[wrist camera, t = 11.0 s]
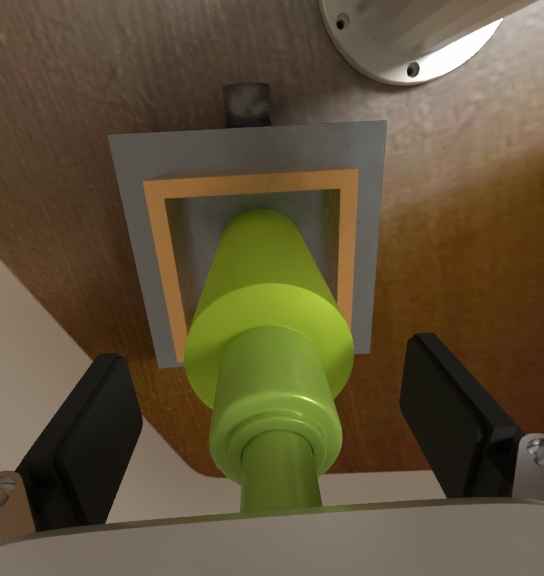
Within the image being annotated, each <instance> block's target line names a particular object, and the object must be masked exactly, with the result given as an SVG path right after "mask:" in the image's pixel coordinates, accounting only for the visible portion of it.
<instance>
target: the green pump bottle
mask: <svg viewBox="0 0 544 576" xmlns="http://www.w3.org/2000/svg"><path fill="white" fill-rule="evenodd" d="M353 361H354V344H353V338H352V335H351V332H350V329H349V327H348V324H347V322H346V320H345V319H344V317H343V315H342V313H341V311H340V309H339V307H338V305H337V303H336V301H335V299H334V297H333V296H332V294H331V292H330V290H329V288H328V286H327V284H326V282H325V280H324V278H323V276H322V275H321V273H320V271H319V269H318V267H317V265H316V263H315V261H314V259H313V257H312V255H311V253H310V252H309V250H308V248H307V246H306V244H305V242H304V240H303V238H302V236H301V234H300V232H299V230H298V229H297V227H296V226H295V225H294V223H293V222H292V221H291V220H290V219H288V218H287V217H286V216H284V215H283V214H281V213H279V212H276V211H273V210H268V209H254V210H250V211H246V212H244V213H242V214H240V215H238V216H237V217H235V218H234V219H233V220H232V221H231V222H230V223H229V224H228V225H227V226H226V228H225V229H224V231H223V233H222V236H221V238H220V241H219V244H218V247H217V250H216V253H215V256H214V259H213V262H212V265H211V268H210V271H209V274H208V277H207V280H206V282H205V285H204V288H203V291H202V294H201V297H200V300H199V303H198V306H197V309H196V312H195V315H194V318H193V321H192V324H191V326H190V329H189V332H188V335H187V338H186V342H185V347H184V366H185V371H186V375H187V378H188V380H189V383H190V385H191V387H192V388H193V390H194V391H195V393H196V394H197V396H198V397H199V398H200V399H201V400H202V401H203V402H204V403H205V404H206V405H207V406H208V407H209V408H211V409H212V410H213V414H212V420H211V427H210V435H209V446H210V453H211V456H212V459H213V461H214V463H215V464H216V466H217V467H218V468H219V470H220V471H221V472H222V473H223V474H224V475H226V476H227V477H228V478H229V479H231V480H232V481H234V482H236V483H238V484H240V485H241V507H240V513H243V512H256V511H270V510H283V509H297V508H311V507H323V506H322V501H321V495H320V490H319V486H318V480H317V478H318V477H320V476H321V475H322V474H324V473H325V472H326V471H327V470H328V469H329V468H330V467H331V465H332V464H333V463H334V461H335V460H336V458H337V456H338V454H339V452H340V449H341V445H342V428H341V424H340V420H339V417H338V414H337V410H336V407H335V404H334V401H333V400H334V399H335V398H336V396H337V395H338V394H339V393H340V392H341V390H342V389H343V387H344V386H345V384H346V382H347V380H348V378H349V376H350V373H351V370H352V366H353Z"/></svg>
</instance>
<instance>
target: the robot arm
mask: <svg viewBox="0 0 544 576" xmlns="http://www.w3.org/2000/svg"><path fill="white" fill-rule="evenodd" d="M318 1H319V7H320V11H321V14H322V17H323V20H324V24H325V27H326V30H327V32H328V33H329V35H330V37H331V39H332V41H333V43H334V45H335V47H336V48H337V50H338V51H339V52H340V53H341V55H342V56H343V57H344V58H345V60H346V61H347V62H348V63H349V64H350V65H351V66H353V67H354V68H355V69H356V70H357V71H359V72H360V73H361V74H363V75H365V76H367V77H369V78H371V79H373V80H375V81H377V82H380V83H385V84H389V85H393V86H412V85H416V84H421V83H426V82H429V81H432V80H434V79H437V78H440V77H443V76H444V75H446V74H448V73H450V72H452V71H454V70H455V69H457V68H459V67H460V66H462V65H463V64H464V63H465V62H467V61H468V60H469V59H470V58H472V57H473V56H474V55H475V54H477V52H478V51H479V50H480V49H481V48H482V47H483V46H484V45H485V44H486V43H487V41H488V40H489V39H490V38H491V37H492V35H493V34H494V33H495V31H496V30H497V28H498V27H499V26H500V24H501V23H502V21H503V19H504V18H505V17H506V16H508V15H510V14H512V13H514V12H516V11H518V10H520V9H522V8H524V7H526V6H528V5H530V4H532V3H534V2H536V1H538V0H318ZM337 22H341V23H342V24H343V29H341V30H339V29H338V28H337V26H336V24H337ZM407 68H409V69H410V70H411V74H410V76H408V75H407ZM400 409H401V412H402V414H403V416H404V417H405V419H406V421H407V423H408V425H409V427H410V429H411V431H412V433H413V435H414V436H415V438H416V440H417V442H418V444H419V446H420V448H421V450H422V452H423V454H424V455H425V457H426V459H427V461H428V463H429V465H430V467H431V469H432V471H433V472H434V474H435V476H436V478H437V480H438V482H439V484H440V486H441V487H442V489H443V491H444V493H445V495H446V497H447V499H430V500H412V501H398V502H384V503H368V504H353V505H339V506H324V507H311V508H297V509H283V510H270V511H256V512H243V513H230V514H217V515H205V516H191V517H179V518H166V519H154V520H141V521H129V522H119V523H109V524H105V522H106V520H107V517H108V514H109V512H110V510H111V507H112V505H113V502H114V499H115V497H116V494H117V492H118V489H119V486H120V484H121V481H122V479H123V476H124V474H125V471H126V469H127V466H128V464H129V461H130V458H131V456H132V453H133V451H134V448H135V446H136V443H137V441H138V438H139V435H140V433H141V430H142V425H143V420H142V415H141V412H140V408H139V404H138V401H137V397H136V393H135V390H134V386H133V382H132V378H131V375H130V371H129V367H128V364H127V360H126V358H125V357H121V356H120V354H119V353H109V354H99V355H98V356H97V357H96V359H95V360H94V361H93V363H92V364H91V365H90V367H89V368H88V370H87V371H86V372H85V374H84V375H83V377H82V378H81V379H80V381H79V382H78V383H77V385H76V386H75V388H74V389H73V390H72V392H71V393H70V394H69V396H68V397H67V399H66V400H65V401H64V403H63V404H62V406H61V407H60V408H59V410H58V411H57V412H56V414H55V415H54V417H53V418H52V419H51V421H50V422H49V423H48V425H47V426H46V428H45V429H44V430H43V432H42V433H41V435H40V436H39V437H38V439H37V440H36V441H35V443H34V444H33V446H32V447H31V449H30V450H29V451H28V453H27V454H26V455H25V457H24V458H23V459H22V462H21V463H20V465H19V466H18V467H17V469H16V470H15V471H2V472H0V576H544V434H537V433H535V434H528V435H525V433H524V432H523V431H522V430H521V429H520V428H519V427H518V426H517V424H516V423H515V422H514V421H513V420H512V419H511V418H510V417H509V416H508V414H507V413H506V412H505V411H504V410H503V409H502V408H501V407H500V406H499V405H498V403H497V402H496V401H495V400H494V399H493V398H492V397H491V396H490V395H489V393H488V392H487V391H486V390H485V389H484V388H483V387H482V386H481V385H480V383H479V382H478V381H477V380H476V379H475V378H474V377H473V376H472V375H471V374H470V372H469V371H468V370H467V369H466V368H465V367H464V366H463V365H462V364H461V362H460V361H459V360H458V359H457V358H456V357H455V356H454V355H453V354H452V352H451V351H450V350H449V349H448V348H447V347H446V346H445V345H444V344H443V343H442V341H441V340H440V339H439V338H438V337H437V336H436V335H435V334H434V333H418V334H414V335H413V338H410V339H409V340H408V342H407V350H406V357H405V364H404V372H403V379H402V387H401V394H400Z"/></svg>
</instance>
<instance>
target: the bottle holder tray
mask: <svg viewBox="0 0 544 576" xmlns="http://www.w3.org/2000/svg"><path fill="white" fill-rule="evenodd" d="M223 98H224V109H225V120H226V129H209V130H190V131H171V132H153V133H134V134H115V135H107V136H108V141H109V145H110V150H111V154H112V159H113V163H114V168H115V172H116V177H117V182H118V186H119V191H120V195H121V200H122V204H123V209H124V213H125V218H126V222H127V227H128V231H129V236H130V241H131V245H132V250H133V254H134V259H135V263H136V268H137V272H138V277H139V281H140V286H141V290H142V295H143V300H144V304H145V309H146V313H147V318H148V322H149V327H150V331H151V336H152V340H153V345H154V349H155V354H156V359H157V363H158V368H171V367H185V366H184V347H185V342H186V338H187V335H188V332H189V329H190V326H191V324H192V321H193V318H194V315H195V312H196V309H197V306H198V303H199V300H200V297H201V294H202V291H203V288H204V285H205V282H206V280H207V277H208V274H209V271H210V268H211V265H212V262H213V259H214V256H215V253H216V250H217V247H218V244H219V241H220V238H221V236H222V233H223V231H224V229H225V228H226V226H227V225H228V224H229V223H230V222H231V221H232V220H233V219H234V218H235V217H237V216H238V215H240V214H242V213H244V212H246V211H250V210H254V209H268V210H273V211H276V212H279V213H281V214H283V215H284V216H286V217H287V218H288V219H290V220H291V221H292V222H293V223H294V225H295V226H296V227H297V229H298V230H299V232H300V234H301V236H302V238H303V240H304V242H305V244H306V246H307V248H308V250H309V252H310V253H311V255H312V257H313V259H314V261H315V263H316V265H317V267H318V269H319V271H320V273H321V275H322V276H323V278H324V280H325V282H326V284H327V286H328V288H329V290H330V292H331V294H332V296H333V297H334V299H335V301H336V303H337V305H338V307H339V309H340V311H341V313H342V315H343V317H344V319H345V320H346V322H347V324H348V327H349V329H350V332H351V335H352V338H353V344H354V354H366V353H370V341H371V327H372V314H373V301H374V288H375V275H376V262H377V248H378V235H379V222H380V209H381V196H382V183H383V170H384V156H385V143H386V130H387V120H380V121H361V122H342V123H323V124H304V125H285V126H272V121H271V98H270V85H269V84H265V83H239V84H231V85H227V86H224V87H223Z"/></svg>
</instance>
